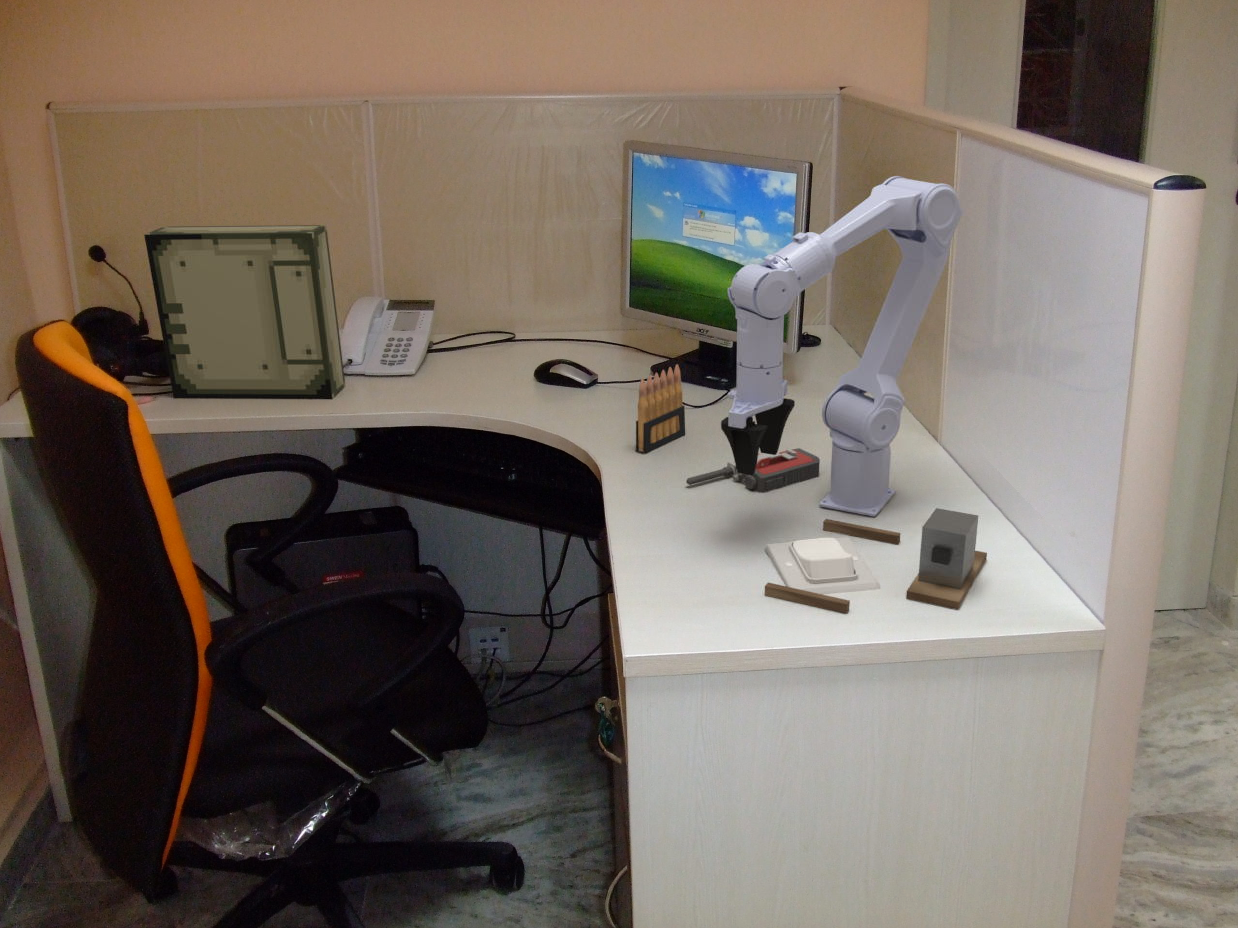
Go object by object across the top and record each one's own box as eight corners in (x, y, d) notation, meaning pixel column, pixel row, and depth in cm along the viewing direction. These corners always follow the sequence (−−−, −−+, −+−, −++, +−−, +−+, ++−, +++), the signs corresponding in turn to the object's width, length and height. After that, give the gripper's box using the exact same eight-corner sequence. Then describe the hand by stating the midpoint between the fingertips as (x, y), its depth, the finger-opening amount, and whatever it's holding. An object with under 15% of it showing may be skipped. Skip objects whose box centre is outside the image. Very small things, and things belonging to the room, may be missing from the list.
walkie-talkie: (790, 458, 177) (682, 488, 167) (791, 431, 175) (682, 459, 165) (828, 477, 170) (718, 508, 160) (830, 449, 168) (718, 479, 158)
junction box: (932, 559, 141) (936, 507, 138) (973, 567, 139) (979, 514, 136) (916, 583, 135) (920, 529, 133) (959, 592, 133) (964, 537, 130)
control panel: (345, 386, 215) (326, 225, 204) (332, 399, 208) (311, 233, 197) (191, 385, 218) (163, 226, 207) (173, 398, 211) (144, 234, 200)
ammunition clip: (644, 454, 179) (643, 380, 174) (635, 452, 180) (633, 378, 176) (685, 434, 187) (685, 363, 182) (676, 432, 188) (675, 361, 183)
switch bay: (825, 526, 153) (825, 518, 152) (899, 541, 148) (900, 532, 148) (764, 594, 136) (764, 585, 135) (846, 613, 131) (846, 604, 131)
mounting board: (937, 550, 145) (938, 543, 145) (986, 559, 143) (987, 552, 142) (906, 598, 134) (906, 590, 134) (958, 609, 131) (958, 601, 131)
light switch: (793, 576, 134) (766, 524, 145) (791, 606, 136) (764, 553, 147) (883, 568, 135) (849, 518, 147) (880, 598, 137) (847, 546, 148)
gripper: (752, 343, 152) (751, 440, 157) (705, 374, 140) (705, 477, 145) (803, 350, 149) (800, 448, 154) (759, 381, 137) (757, 486, 142)
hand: (757, 463), depth 149 cm, fingers open, 7 cm apart
